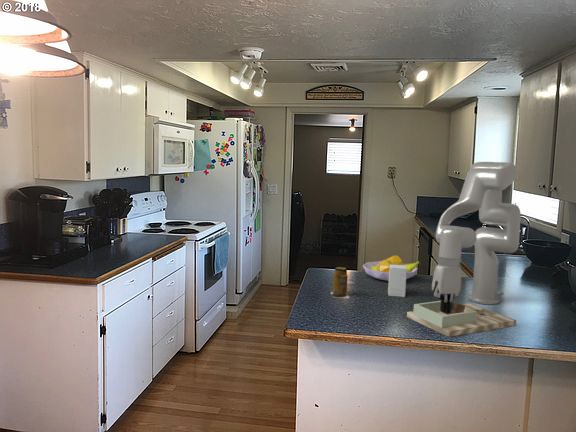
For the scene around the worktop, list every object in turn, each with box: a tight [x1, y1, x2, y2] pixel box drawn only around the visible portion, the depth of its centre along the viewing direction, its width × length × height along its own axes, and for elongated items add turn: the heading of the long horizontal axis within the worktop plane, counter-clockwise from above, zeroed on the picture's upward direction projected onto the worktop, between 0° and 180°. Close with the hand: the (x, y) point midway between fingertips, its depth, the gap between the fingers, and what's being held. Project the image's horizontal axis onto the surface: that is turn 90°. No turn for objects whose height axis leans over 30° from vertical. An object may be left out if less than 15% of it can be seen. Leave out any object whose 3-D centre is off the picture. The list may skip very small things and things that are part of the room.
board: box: [406, 302, 517, 338], centre depth 181 cm, size 32×22×2 cm
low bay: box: [412, 300, 477, 328], centre depth 177 cm, size 16×15×4 cm
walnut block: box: [442, 300, 465, 315], centre depth 179 cm, size 5×5×5 cm
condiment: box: [330, 266, 350, 299], centre depth 210 cm, size 7×8×12 cm
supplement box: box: [387, 265, 407, 298], centre depth 215 cm, size 7×7×13 cm
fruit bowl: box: [362, 254, 420, 282], centre depth 243 cm, size 28×27×11 cm
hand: (444, 312), depth 177 cm, fingers closed
